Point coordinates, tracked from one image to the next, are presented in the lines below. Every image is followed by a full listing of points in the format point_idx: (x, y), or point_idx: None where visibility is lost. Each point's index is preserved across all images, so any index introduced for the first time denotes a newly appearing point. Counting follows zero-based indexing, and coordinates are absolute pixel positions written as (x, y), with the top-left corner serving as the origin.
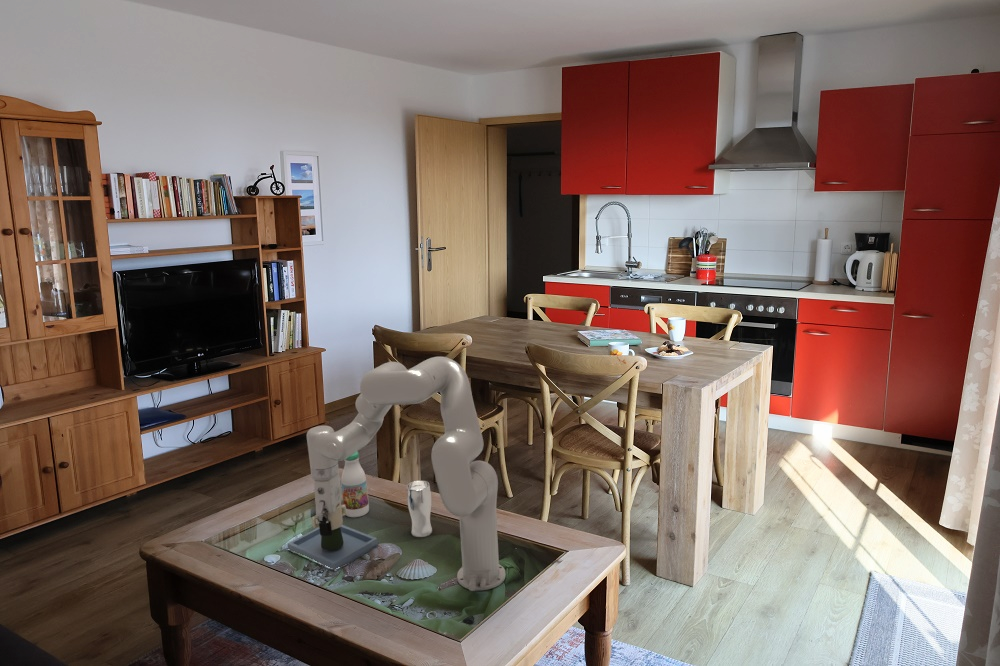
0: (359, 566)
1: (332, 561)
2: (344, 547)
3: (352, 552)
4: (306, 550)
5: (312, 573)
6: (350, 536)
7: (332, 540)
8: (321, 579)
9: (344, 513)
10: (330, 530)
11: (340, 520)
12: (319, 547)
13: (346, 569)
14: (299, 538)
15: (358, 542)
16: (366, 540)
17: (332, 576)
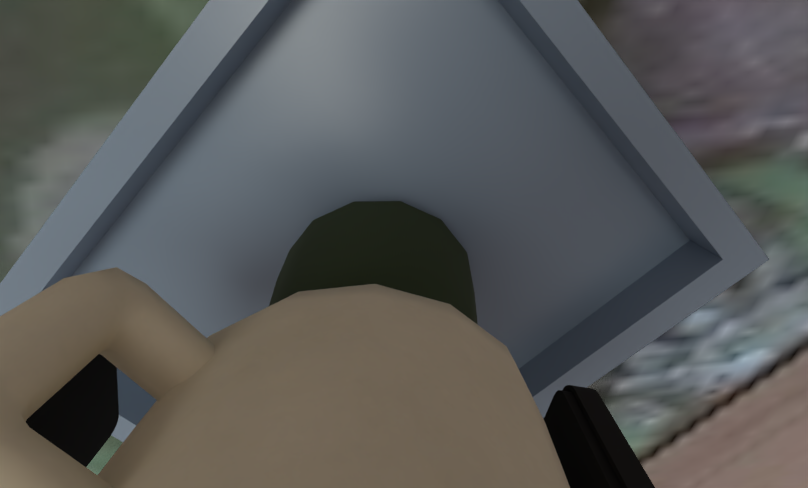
0: (726, 27)
1: (722, 273)
2: (400, 185)
3: (640, 97)
4: None
5: (660, 367)
6: (202, 143)
7: (475, 322)
8: (767, 309)
9: (128, 312)
10: (620, 445)
11: (468, 368)
12: None
13: (720, 143)
14: None
15: (332, 54)
16: None
17: (768, 241)
